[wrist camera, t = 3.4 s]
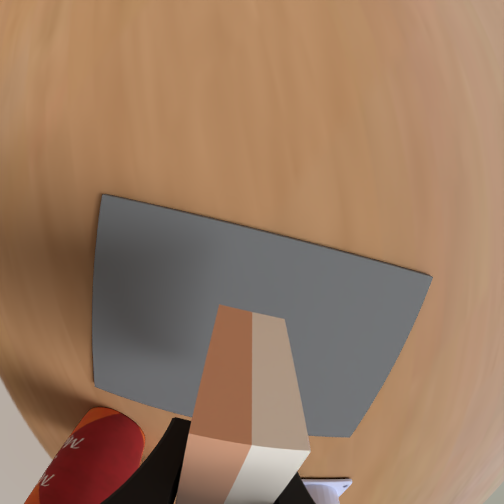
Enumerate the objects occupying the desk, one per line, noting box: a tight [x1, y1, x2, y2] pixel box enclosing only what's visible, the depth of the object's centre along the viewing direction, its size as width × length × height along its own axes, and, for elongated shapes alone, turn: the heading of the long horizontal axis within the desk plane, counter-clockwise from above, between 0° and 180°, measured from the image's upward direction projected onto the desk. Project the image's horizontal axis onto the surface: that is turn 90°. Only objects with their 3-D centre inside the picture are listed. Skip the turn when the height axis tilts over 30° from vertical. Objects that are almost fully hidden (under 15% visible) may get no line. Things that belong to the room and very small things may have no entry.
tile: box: [175, 304, 311, 504], centre depth 9 cm, size 8×2×6 cm, turn 166°
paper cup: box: [24, 407, 145, 504], centre depth 13 cm, size 8×8×14 cm
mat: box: [92, 194, 433, 437], centre depth 17 cm, size 14×20×1 cm
